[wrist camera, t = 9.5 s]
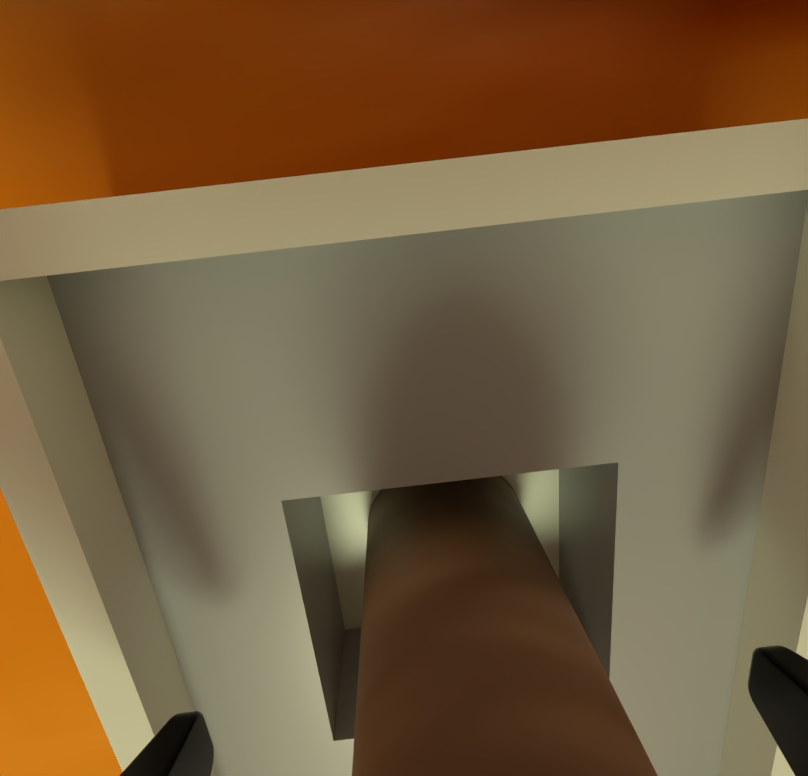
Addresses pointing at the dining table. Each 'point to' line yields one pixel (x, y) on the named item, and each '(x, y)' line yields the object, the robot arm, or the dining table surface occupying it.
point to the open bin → (417, 425)
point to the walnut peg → (477, 647)
